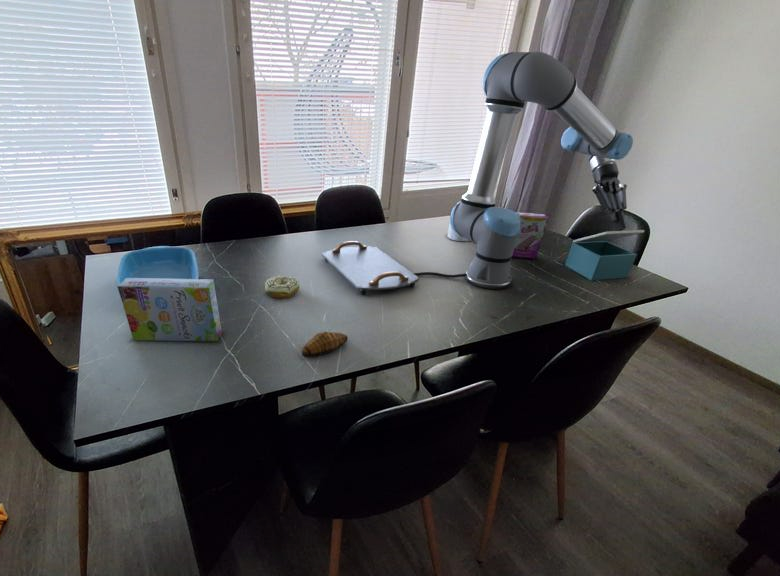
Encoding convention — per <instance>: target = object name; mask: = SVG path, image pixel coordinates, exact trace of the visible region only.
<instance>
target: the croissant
mask: <svg viewBox="0 0 780 576" xmlns="http://www.w3.org/2000/svg"><path fill="white" fill-rule="evenodd" d="M348 338H349V337H348V335H347V334H345V333H341V332H335V331H326V330H324V331H320V332H318V333H316V334H315V335H314V336H313V337H312V338H311V339H310V340H309V341H308V342H307V343H305V344H304V345H303V347H302V349H301V355H302V356H303V357H304V358H305V357H315V356H320V355H323V354H328V353H332V352H333V351H335V350H337V349H338V348H340V347H342V346H343V345H345V344H346V342H347V341H348V340H349V339H348Z"/></svg>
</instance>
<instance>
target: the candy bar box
mask: <svg viewBox="0 0 780 576" xmlns="http://www.w3.org/2000/svg"><path fill="white" fill-rule="evenodd" d="M516 213H517V214H518V215H519V217H520V219H521V223H520V230H519V233H518V237H517V240H516V244H515V247H514V251H513V254H512V258H521V259H531V260H536V258H537V255H538V252H539V250H540V247H541V243H542V240H543V237H544V234H545V231H546V227H547V224H548V221H549V216H547V214H543V213H532V212H520V211H519V212H518V211H517V212H516Z"/></svg>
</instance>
